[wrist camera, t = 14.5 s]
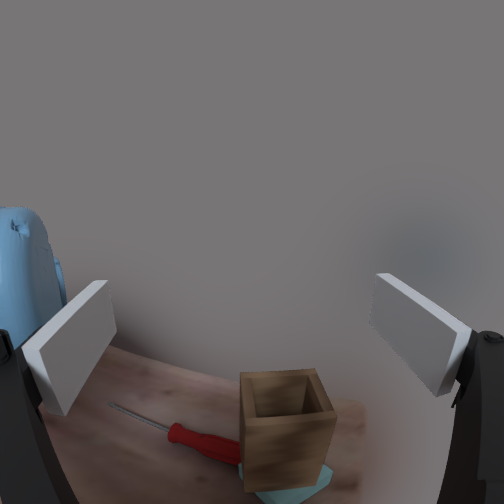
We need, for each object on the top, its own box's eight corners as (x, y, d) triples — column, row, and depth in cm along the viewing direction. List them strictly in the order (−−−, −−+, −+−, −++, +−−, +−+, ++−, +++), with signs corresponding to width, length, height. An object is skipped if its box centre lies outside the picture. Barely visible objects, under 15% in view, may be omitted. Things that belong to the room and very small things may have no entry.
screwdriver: (117, 405, 43) (112, 389, 42) (258, 456, 34) (258, 441, 34) (104, 416, 40) (98, 400, 39) (248, 474, 31) (248, 459, 30)
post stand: (239, 476, 31) (236, 433, 29) (288, 451, 35) (293, 406, 33) (278, 516, 24) (282, 479, 22) (329, 483, 29) (342, 440, 26)
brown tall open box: (244, 492, 25) (245, 426, 22) (239, 443, 33) (240, 372, 30) (315, 485, 26) (337, 417, 23) (301, 439, 34) (314, 368, 31)
